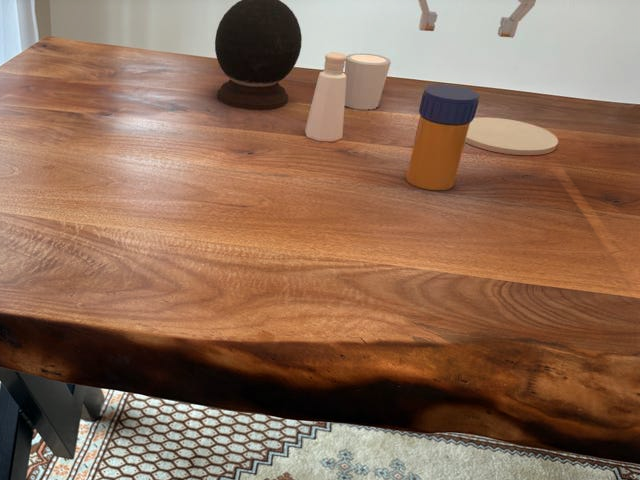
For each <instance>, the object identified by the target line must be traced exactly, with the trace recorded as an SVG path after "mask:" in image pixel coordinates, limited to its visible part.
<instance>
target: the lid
mask: <svg viewBox="0 0 640 480" xmlns="http://www.w3.org/2000/svg"><path fill="white" fill-rule="evenodd" d="M479 99H480V94H479V93H478V92H477V91H475V90H473V89H471V88H467V87H464V86H459V85H452V84H432V85H428V86H425V88H424V90H423V93H422V95H421V101H420V105H419V108H418V111H419V113H418V114H419V116H420V115H421V116H422V117H424V118H426V119H429V120H431V121H435V122H439V123H445V124H466V123H470V122H471V121H473V118H476V117H475V116H476V113H477V110H478V106H479V102H480V100H479Z"/></svg>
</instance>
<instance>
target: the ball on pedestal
mask: <svg viewBox="0 0 640 480" xmlns="http://www.w3.org/2000/svg"><path fill="white" fill-rule="evenodd" d="M302 40H303V37H302V30H301V26H300V23H299V20H298V18H297V16H296V14H295V13H294V11H293V10H292V9H291V8H290V7H289V5H287V4H286V3H285V2H283V1H282V0H239V1H236V3H235V4H233V5H231V7H229V9H228V10H227V11H226V12H225V13H224V15H222V18H221V20H220V21H219V23H218V26H217V29H216V32H215V39H214V52H215V57H216V60H217V63H218V65H219V67H220V68H221V70H222V72H223V73H224V75H225V76H226V77H228V79H229V80H228V81H226V82H223V83H222V85H220V88H219V89H218V90H217V96H216V99H217V100H218V101H219V102H220V103H222V104H225V105H226V106H230V107H234V108H239V109H245V110H253V111H254V110H255V111H257V110H259V111H261V110H262V111H264V110H274V109H278V108H282V107H284V106H286V105H287V104H288V101H289V95H288V93H287V92H286V89H285V88H284V87H283V86H282V85H280V83H279V82H281V81H282V80H284V79H285V78H287V76H288V75H289V74H290V73H291V72H292V70H293V69H294V67H295V66H296V64H297V62H298V59H299V57H300V54H301V50H302Z"/></svg>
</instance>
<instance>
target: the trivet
mask: <svg viewBox="0 0 640 480" xmlns="http://www.w3.org/2000/svg"><path fill="white" fill-rule="evenodd" d="M465 144H468V145H470V146H473V147H475V148H478V149H481V150H485V151H489V152H494V153H498V154H504V155H512V156H540V155H541V156H542V155H546V154H550V153H552V152H554V151H555V150H556V149H557V147H558V144H559V139H558V137H557V136H556V135H555V134H554V133H553V132H551V131H548V130H547V129H545V128H542V127H540V126H538V125H534V124H531V123H528V122H523V121H519V120H514V119H508V118H501V117H474V118H473V121H471V123H470V126H469V130H468V134H467V138H466V141H465Z"/></svg>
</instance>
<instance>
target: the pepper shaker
mask: <svg viewBox="0 0 640 480" xmlns="http://www.w3.org/2000/svg"><path fill="white" fill-rule="evenodd" d="M346 56H347V55H346V54H344V53H341V52H328V53H325V56H324V59H325V61H324V64H323V65H324V68H323V70H322V71H320V72H319V73H318V74H319V75H318V77H317V81H316V86H315V89H314V93H313V97H312V100H311V101H312V102H311V105H310V109H309V113H308V116H307V121H306V125H305V129H304V133H305V136H306V138H308V139H311V140H314V141H316V142H327V143H329V142H330V143H334V142H336V141H339V140H342V139H343V132H344V120H345V119H344V118H345V107H346V106H345V92H346V75H345V62H346V58H347V57H346Z"/></svg>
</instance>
